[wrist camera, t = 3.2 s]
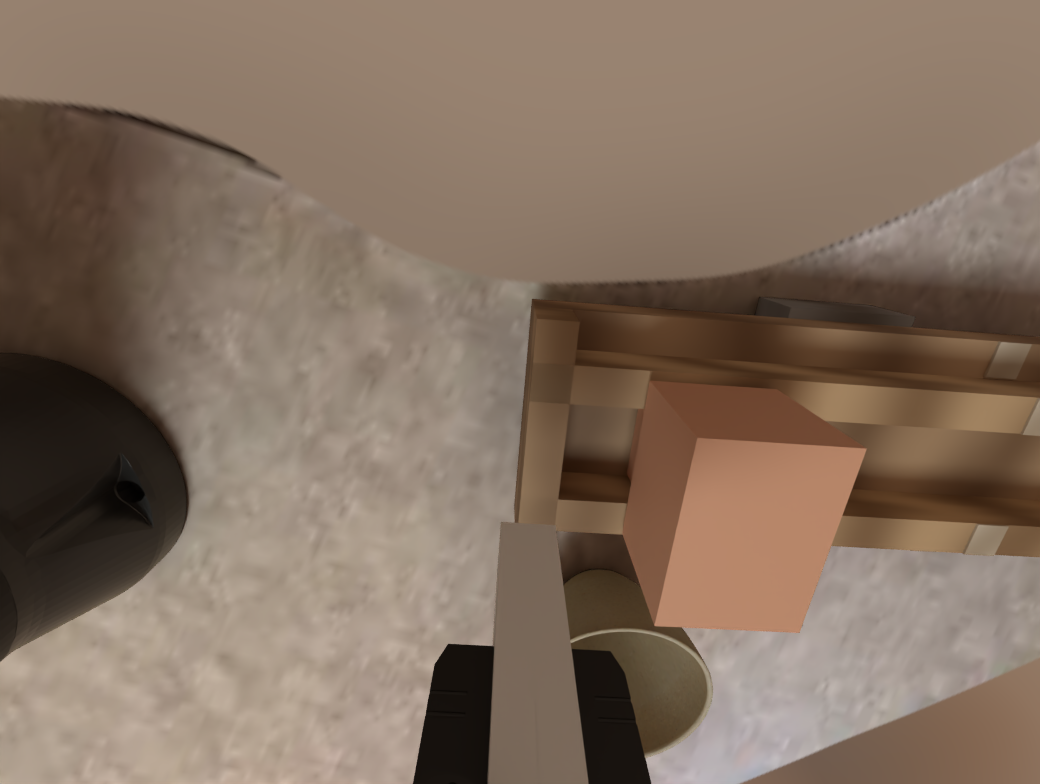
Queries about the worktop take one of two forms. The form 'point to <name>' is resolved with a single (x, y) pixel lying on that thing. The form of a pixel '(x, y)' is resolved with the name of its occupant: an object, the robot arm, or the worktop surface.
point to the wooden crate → (816, 386)
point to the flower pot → (641, 656)
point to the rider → (733, 505)
